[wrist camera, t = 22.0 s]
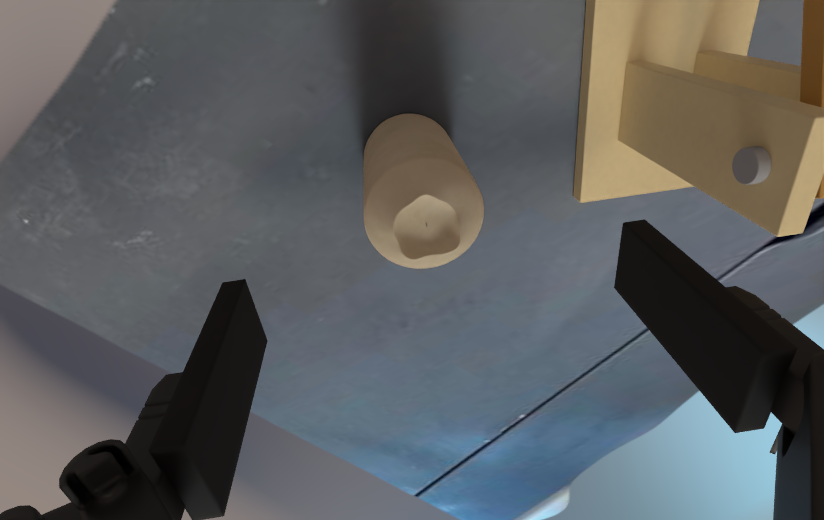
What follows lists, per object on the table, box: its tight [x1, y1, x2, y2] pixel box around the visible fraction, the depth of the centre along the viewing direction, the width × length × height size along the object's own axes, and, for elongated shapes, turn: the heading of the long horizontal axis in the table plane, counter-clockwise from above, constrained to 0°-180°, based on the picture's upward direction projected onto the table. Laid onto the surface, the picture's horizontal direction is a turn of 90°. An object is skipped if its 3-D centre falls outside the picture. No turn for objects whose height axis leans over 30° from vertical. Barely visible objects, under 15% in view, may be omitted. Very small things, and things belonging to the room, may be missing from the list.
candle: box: [363, 114, 484, 269], centre depth 24 cm, size 6×6×10 cm
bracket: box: [573, 0, 824, 237], centre depth 22 cm, size 12×9×14 cm
